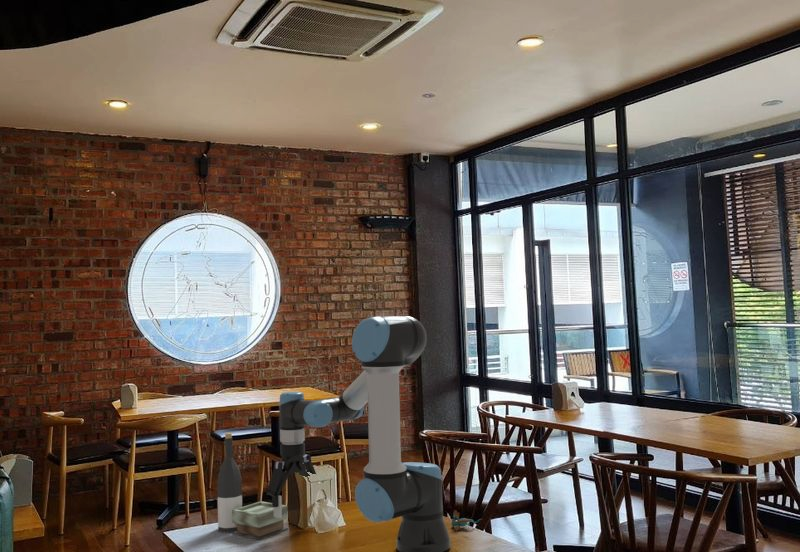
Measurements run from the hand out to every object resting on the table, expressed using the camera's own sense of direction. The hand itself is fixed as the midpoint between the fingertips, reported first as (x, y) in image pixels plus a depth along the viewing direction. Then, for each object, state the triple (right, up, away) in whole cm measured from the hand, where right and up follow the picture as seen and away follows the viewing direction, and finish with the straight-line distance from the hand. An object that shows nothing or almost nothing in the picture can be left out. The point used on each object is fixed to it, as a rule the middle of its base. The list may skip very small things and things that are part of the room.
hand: (293, 512), depth 227 cm
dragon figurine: (+57, -3, -2) cm, 57 cm away
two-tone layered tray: (-10, -7, +1) cm, 12 cm away
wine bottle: (-21, -7, +5) cm, 23 cm away
